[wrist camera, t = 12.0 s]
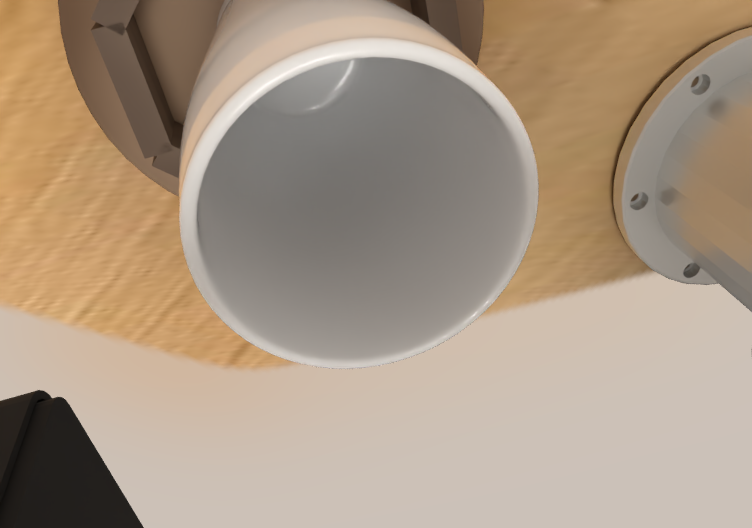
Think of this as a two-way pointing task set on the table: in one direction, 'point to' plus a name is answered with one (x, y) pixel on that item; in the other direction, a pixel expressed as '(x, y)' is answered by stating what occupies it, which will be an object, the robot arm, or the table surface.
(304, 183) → the drinking glass
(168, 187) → the glass holder
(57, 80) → the table surface
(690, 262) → the robot arm
